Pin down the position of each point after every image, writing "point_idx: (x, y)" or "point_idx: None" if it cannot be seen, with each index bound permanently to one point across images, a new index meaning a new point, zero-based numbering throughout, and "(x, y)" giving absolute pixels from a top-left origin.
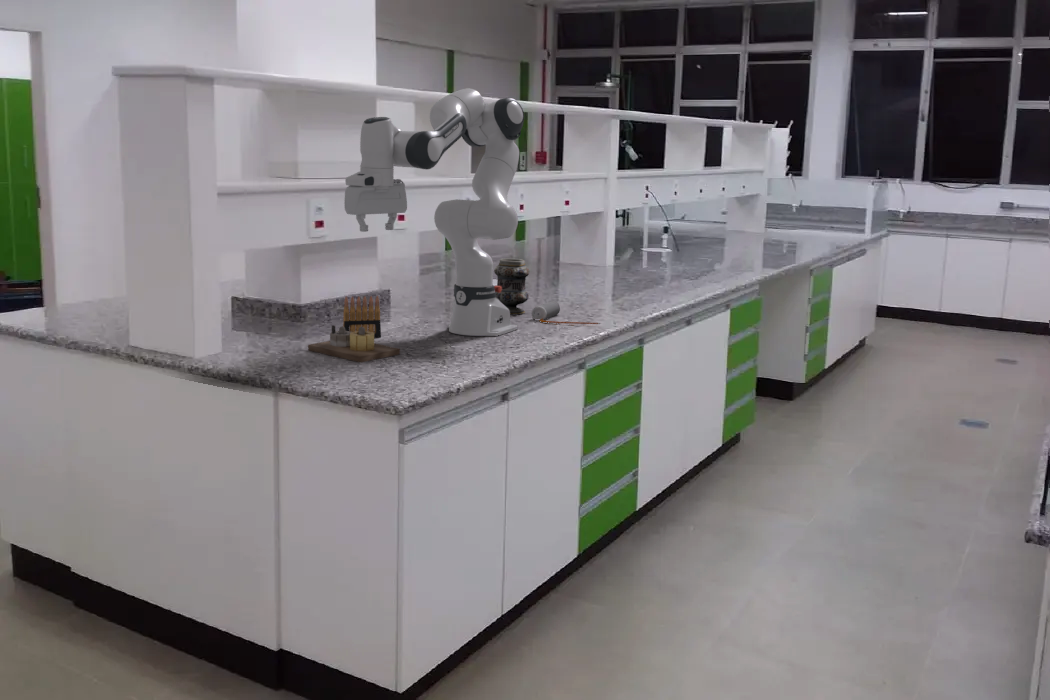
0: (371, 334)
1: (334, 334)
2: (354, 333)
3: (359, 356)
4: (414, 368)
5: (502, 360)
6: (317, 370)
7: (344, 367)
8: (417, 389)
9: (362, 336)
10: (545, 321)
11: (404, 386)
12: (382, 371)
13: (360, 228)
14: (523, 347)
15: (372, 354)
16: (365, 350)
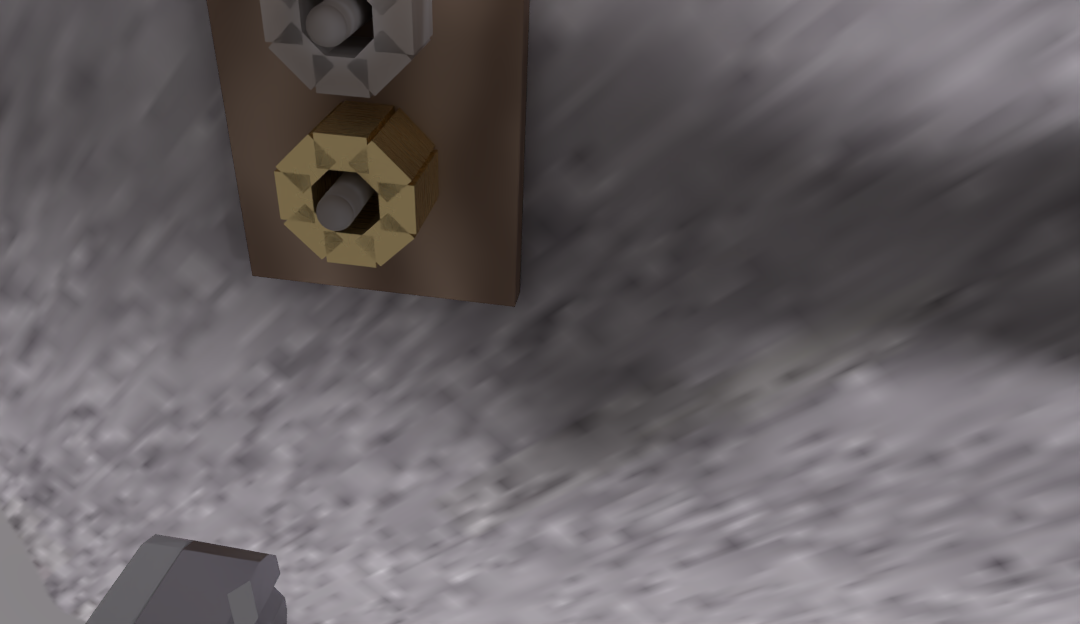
0: (367, 258)
1: (269, 14)
2: (309, 172)
3: (252, 269)
4: (373, 463)
5: (721, 618)
6: (33, 220)
7: (157, 267)
8: None
9: (307, 242)
10: None
11: None
12: (245, 407)
13: (128, 588)
14: (1030, 596)
15: (328, 283)
16: None
